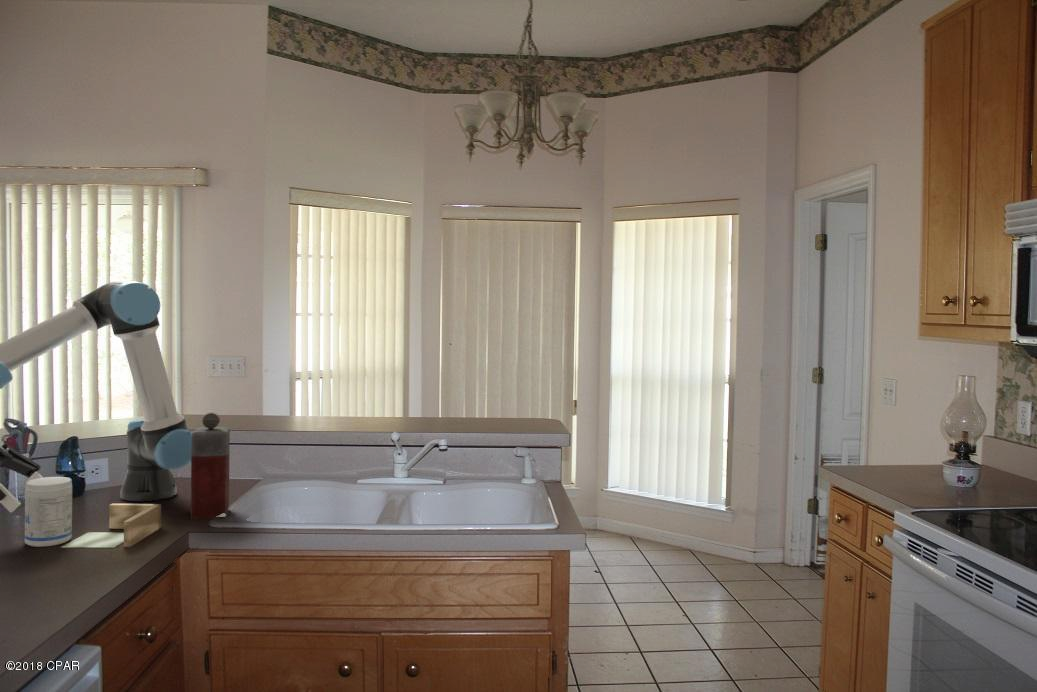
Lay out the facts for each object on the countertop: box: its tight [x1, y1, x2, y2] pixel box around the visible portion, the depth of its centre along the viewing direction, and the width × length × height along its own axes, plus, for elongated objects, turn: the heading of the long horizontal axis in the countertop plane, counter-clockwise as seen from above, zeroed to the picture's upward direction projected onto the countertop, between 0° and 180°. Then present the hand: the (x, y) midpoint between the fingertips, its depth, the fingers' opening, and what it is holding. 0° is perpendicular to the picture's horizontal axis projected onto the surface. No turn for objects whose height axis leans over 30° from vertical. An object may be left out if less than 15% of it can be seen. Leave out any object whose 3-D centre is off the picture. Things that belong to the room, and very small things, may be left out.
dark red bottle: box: [190, 411, 231, 520], centre depth 208 cm, size 9×11×28 cm
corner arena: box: [60, 503, 162, 549], centre depth 184 cm, size 15×18×6 cm
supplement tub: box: [24, 476, 73, 548], centre depth 179 cm, size 10×10×15 cm
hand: (34, 501), depth 178 cm, fingers open, 13 cm apart
